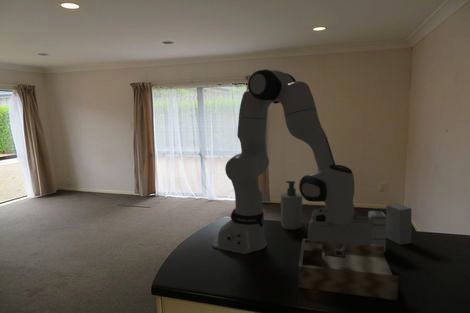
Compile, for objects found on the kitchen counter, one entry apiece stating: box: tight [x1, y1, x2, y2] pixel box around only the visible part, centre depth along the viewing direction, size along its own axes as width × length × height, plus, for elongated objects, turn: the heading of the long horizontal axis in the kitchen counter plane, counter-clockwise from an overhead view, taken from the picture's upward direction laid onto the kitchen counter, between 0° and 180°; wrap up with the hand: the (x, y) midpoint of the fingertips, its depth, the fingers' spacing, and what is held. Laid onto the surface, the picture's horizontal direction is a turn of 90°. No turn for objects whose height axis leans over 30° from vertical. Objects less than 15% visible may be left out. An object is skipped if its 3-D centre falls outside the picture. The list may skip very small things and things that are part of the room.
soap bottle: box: [280, 180, 303, 231], centre depth 145 cm, size 10×9×22 cm
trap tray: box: [297, 238, 400, 301], centre depth 101 cm, size 28×22×7 cm
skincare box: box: [385, 203, 412, 246], centre depth 127 cm, size 8×6×15 cm
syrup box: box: [367, 210, 387, 252], centre depth 120 cm, size 6×6×14 cm
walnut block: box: [303, 243, 322, 266], centre depth 103 cm, size 6×6×5 cm
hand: (338, 255), depth 101 cm, fingers closed
